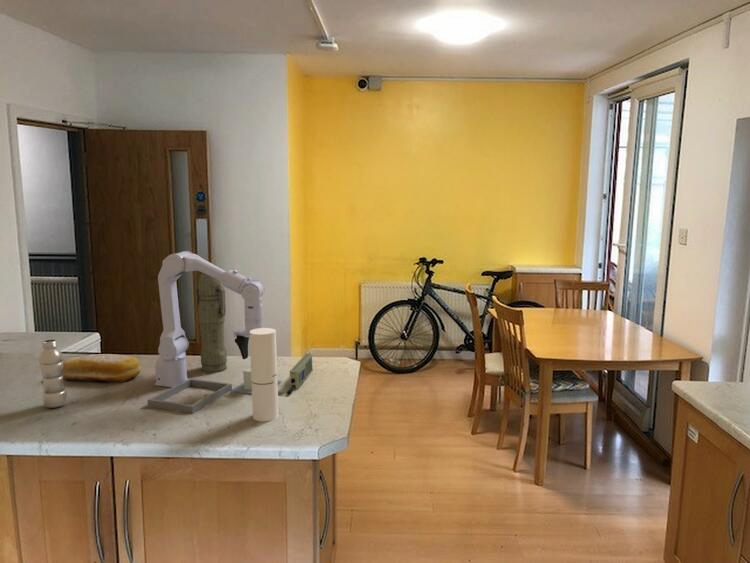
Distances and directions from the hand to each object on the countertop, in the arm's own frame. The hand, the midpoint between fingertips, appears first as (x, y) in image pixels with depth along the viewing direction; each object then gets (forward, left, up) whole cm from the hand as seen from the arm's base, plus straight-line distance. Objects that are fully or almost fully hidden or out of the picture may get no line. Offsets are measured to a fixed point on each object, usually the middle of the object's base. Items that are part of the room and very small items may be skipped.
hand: (255, 359), depth 183 cm
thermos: (-24, +11, -9) cm, 28 cm away
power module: (0, 0, -9) cm, 9 cm away
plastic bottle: (-48, -34, -9) cm, 60 cm away
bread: (-55, -9, -10) cm, 57 cm away
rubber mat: (0, 0, -9) cm, 9 cm away
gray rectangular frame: (-14, -15, -9) cm, 23 cm away
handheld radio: (+11, +9, -10) cm, 17 cm away
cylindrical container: (+15, -20, -9) cm, 27 cm away
